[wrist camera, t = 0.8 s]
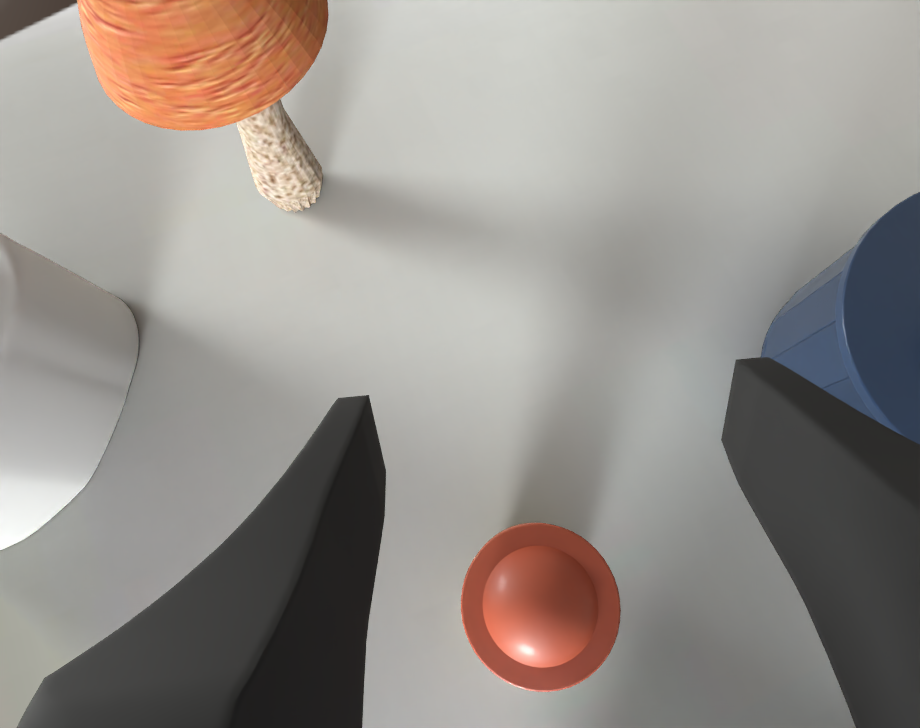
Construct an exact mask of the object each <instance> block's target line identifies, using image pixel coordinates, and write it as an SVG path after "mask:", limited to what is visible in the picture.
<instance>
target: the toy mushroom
mask: <svg viewBox="0 0 920 728" xmlns="http://www.w3.org/2000/svg"><path fill="white" fill-rule="evenodd" d="M620 612H621V610H620V598H619V593H618V588H617V585H616V582H615V579H614V576H613V574H612V572H611V570H610V568H609V566H608V565H607V563H606V561H605V560H604V558H603V557H602V556H601V555H600V553H599V552H598V551H597V550H596V549H595V548H594V547H593V546H592V545H591V544H590V543H589V542H588V541H586V540H585V539H584V538H582V537H581V536H579V535H577V534H576V533H574V532H572V531H570V530H567V529H565V528H563V527H559V526H555V525H551V524H546V523H524V524H519V525H515V526H512V527H510V528H507V529H505V530H503V531H501V532H500V533H498V534H497V535H495V536H494V537H493V538H492V539H490V540H489V541H488V542H487V543H486V544H485V545H484V546H483V547H482V549H481V550H480V551H479V552H478V554H477V555H476V556H475V558H474V559H473V561H472V563H471V565H470V567H469V569H468V571H467V574H466V576H465V579H464V583H463V588H462V595H461V614H462V621H463V625H464V629H465V633H466V635H467V638H468V640H469V643H470V644H471V646H472V648H473V650H474V652H475V653H476V655H477V656H478V657H479V659H480V660H481V661H482V663H483V664H484V665H485V666H486V667H487V668H488V669H489V670H490V671H491V672H493V673H494V674H495V675H496V676H497V677H499V678H501V679H502V680H504V681H505V682H507V683H509V684H512V685H514V686H516V687H519V688H522V689H526V690H531V691H537V692H550V691H558V690H562V689H565V688H569V687H571V686H574V685H576V684H578V683H580V682H582V681H583V680H585V679H586V678H588V677H589V676H590V675H591V674H593V673H594V672H595V671H596V670H597V669H598V668H599V667H600V666H601V665H602V663H603V662H604V661H605V659H606V658H607V656H608V655H609V653H610V651H611V649H612V647H613V645H614V643H615V640H616V637H617V634H618V629H619V624H620Z"/></svg>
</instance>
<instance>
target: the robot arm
mask: <svg viewBox="0 0 920 728" xmlns="http://www.w3.org/2000/svg"><path fill="white" fill-rule="evenodd" d="M721 440H722V443H723V445H724V448H725V451H726V453H727V456H728V459H729V462H730V464H731V467H732V469H733V472H734V474H735V476H736V479H737V481H738V484H739V486H740V488H741V489H742V491H743V493H744V495H745V497H746V499H747V500H748V502H749V504H750V506H751V507H752V509H753V511H754V513H755V515H756V516H757V518H758V520H759V522H760V524H761V525H762V527H763V529H764V531H765V532H766V534H767V536H768V538H769V539H770V541H771V543H772V545H773V546H774V548H775V550H776V552H777V553H778V555H779V557H780V559H781V560H782V562H783V564H784V566H785V567H786V569H787V571H788V573H789V574H790V576H791V578H792V580H793V581H794V583H795V585H796V587H797V589H798V591H799V593H800V595H801V597H802V599H803V601H804V603H805V605H806V607H807V609H808V612H809V614H810V616H811V619H812V621H813V623H814V626H815V628H816V630H817V632H818V635H819V637H820V639H821V642H822V644H823V646H824V648H825V651H826V653H827V655H828V658H829V660H830V663H831V665H832V668H833V670H834V673H835V675H836V678H837V680H838V683H839V685H840V687H841V690H842V692H843V695H844V697H845V700H846V702H847V705H848V707H849V710H850V713H851V715H852V718H853V721H854V723H855V726H856V728H920V444H918V443H916V442H914V441H912V440H910V439H908V438H906V437H904V436H903V435H901V434H899V433H897V432H895V431H893V430H891V429H890V428H888V427H886V426H884V425H882V424H881V423H879V422H877V421H875V420H874V419H872V418H870V417H868V416H867V415H865V414H863V413H861V412H860V411H858V410H856V409H855V408H853V407H851V406H850V405H848V404H846V403H845V402H843V401H841V400H840V399H838V398H836V397H835V396H833V395H831V394H830V393H828V392H826V391H825V390H823V389H822V388H820V387H818V386H817V385H815V384H813V383H812V382H810V381H809V380H807V379H805V378H804V377H802V376H800V375H799V374H797V373H795V372H794V371H792V370H790V369H789V368H787V367H785V366H784V365H782V364H780V363H778V362H777V361H775V360H773V359H771V358H769V357H761V358H750V359H740V360H736V362H735V368H734V373H733V379H732V384H731V390H730V395H729V401H728V406H727V412H726V417H725V423H724V428H723V434H722V439H721ZM385 486H386V469H385V465H384V460H383V456H382V452H381V447H380V443H379V438H378V434H377V430H376V425H375V421H374V417H373V412H372V408H371V403H370V399H369V395H366V396H355V397H345V398H338V399H337V400H336V401H335V403H334V404H333V405H332V407H331V408H330V410H329V411H328V413H327V414H326V416H325V417H324V419H323V420H322V422H321V423H320V425H319V426H318V428H317V429H316V431H315V432H314V433H313V435H312V436H311V438H310V439H309V441H308V442H307V444H306V445H305V446H304V448H303V449H302V450H301V452H300V453H299V454H298V456H297V457H296V459H295V460H294V461H293V463H292V464H291V465H290V467H289V468H288V469H287V471H286V472H285V473H284V475H283V476H282V477H281V478H280V480H279V481H278V482H277V483H276V484H275V486H274V487H273V488H272V489H271V490H270V492H269V493H268V494H267V495H266V496H265V498H264V499H263V500H262V501H261V503H260V504H259V505H258V506H257V507H256V508H255V509H254V511H253V512H252V513H251V514H250V515H249V516H248V517H247V518H246V519H245V521H244V522H243V523H242V524H241V525H240V526H239V527H238V528H237V529H236V530H235V531H234V532H233V533H232V534H231V535H230V536H229V537H228V538H227V539H226V540H225V541H224V542H223V543H222V544H221V545H220V546H219V547H218V548H217V549H216V550H215V551H214V552H213V553H211V554H210V555H209V556H208V557H207V558H206V559H205V560H204V561H202V562H201V563H200V564H199V565H198V566H197V567H196V568H194V569H193V570H192V571H191V572H190V573H189V574H188V575H187V576H185V577H184V578H183V579H182V580H181V581H180V582H179V583H177V584H176V585H175V586H174V587H173V588H171V589H170V590H169V591H168V592H166V593H165V594H164V595H163V596H161V597H160V598H159V599H158V600H156V601H155V602H154V603H153V604H151V605H150V606H149V607H147V608H146V609H145V610H143V611H142V612H141V613H139V614H138V615H137V616H135V617H134V618H133V619H131V620H130V621H129V622H127V623H126V624H125V625H123V626H122V627H121V628H119V629H118V630H116V631H115V632H113V633H112V634H111V635H109V636H108V637H106V638H105V639H103V640H102V641H100V642H99V643H97V644H96V645H94V646H93V647H91V648H90V649H88V650H87V651H85V652H84V653H82V654H81V655H79V656H78V657H76V658H75V659H73V660H72V661H70V662H69V663H67V664H66V665H64V666H63V667H61V668H60V669H58V670H57V671H55V672H54V673H52V674H50V675H49V676H47V677H46V678H44V680H43V681H42V683H41V685H40V686H39V688H38V690H37V691H36V693H35V695H34V697H33V698H32V700H31V702H30V703H29V705H28V707H27V709H26V711H25V712H24V714H23V716H22V718H21V720H20V722H19V724H18V726H17V728H362V718H363V694H364V674H365V656H366V639H367V630H368V621H369V614H370V607H371V601H372V595H373V588H374V582H375V575H376V569H377V563H378V556H379V550H380V543H381V537H382V530H383V523H384V516H385Z"/></svg>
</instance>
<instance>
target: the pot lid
mask: <svg viewBox="0 0 920 728" xmlns="http://www.w3.org/2000/svg"><path fill="white" fill-rule="evenodd" d="M835 314H836V331H837V338H838V344H839V348H840V352H841V355H842V358H843V362H844V365H845V368H846V370H847V372H848V374H849V377H850V379H851V381H852V383H853V385H854V387H855V389H856V391H857V392H858V394H859V395H860V397H861V399H862V400H863V402H864V404H865V405H866V407H867V408H868V409H869V410H870V412H871V413H872V414H873V416H874V417H875V418H876V419H877V421H878V422H879V423H881V424H882V425H884V426H886V427H888V428H890V429H891V430H893V431H895V432H897V433H899V434H901V435H903V436H904V437H906V438H908V439H910V440H912V441H914V442H916V443H918V444H920V192H919V193H917V194H914V195H912V196H910V197H909V198H907V199H905V200H904V201H902V202H900V203H899V204H897V205H896V206H894V207H893V208H892V209H891V210H889V211H888V212H887V213H886V214H884V215H883V216H882V217H881V218H880V219H878V220H877V221H876V222H875V223H874V224H873V225H872V226H871V227H870V228H869V229H868V230H867V231H866V232H865V233H864V235H863V236H862V237H861V238H860V240H859V241H858V243H857V244H856V246H855V247H854V249H853V250H852V252H851V254H850V256H849V258H848V260H847V262H846V264H845V266H844V269H843V272H842V275H841V279H840V282H839V286H838V291H837V298H836V306H835Z"/></svg>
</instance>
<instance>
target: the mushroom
mask: <svg viewBox="0 0 920 728" xmlns="http://www.w3.org/2000/svg"><path fill="white" fill-rule="evenodd" d="M77 2H78V8H79V14H80V21H81V27H82V30H83V34H84V37H85V40H86V44H87V47H88V50H89V53H90V56H91V59H92V62H93V65H94V68H95V71H96V74H97V77H98V80H99V82H100V84H101V86H102V87H103V89H104V91H105V92H106V94H107V95H108V96H109V97H110V99H111V100H112V101H113V102H114V103H115V104H116V105H117V106H118V107H119V108H121V109H122V110H123V111H125V112H126V113H127V114H129V115H130V116H132V117H134V118H136V119H138V120H140V121H142V122H144V123H147V124H151V125H154V126H157V127H161V128H167V129H174V130H204V129H210V128H217V127H222V126H225V125H229V124H232V123H235V122H236V124H237V126H238V129H239V132H240V135H241V139H242V142H243V145H244V149H245V152H246V155H247V159H248V162H249V165H250V169H251V172H252V175H253V179H254V182H255V185H256V188H257V189H258V190H259V192H260V194H261V195H263V196H264V197H266V198H267V199H268V200H269V201H271V202H272V203H273V204H275V205H276V206H278V207H279V208H280V209H285V210H286V211H287V212H288V211H291V210H293V211H294V212H297V211H298V210H301V211H303V210H304V209H305V207H306V208H310V206H311V204H312V203H316V198H318V197H319V195H320V190H321V184H322V177H323V174H322V167H321V165H320V164H319V162H318V161H317V159H316V158H315V156H314V155H313V153H312V152H311V150H310V148H309V147H308V145H307V144H306V142H305V141H304V139H303V138H302V136H301V134H300V133H299V131H298V130H297V128H296V127H295V125H294V124H293V122H292V121H291V119H290V117H289V116H288V114H287V113H286V111H285V110H284V108H283V105H282V103H281V100H280V98H282V97H283V96H284V95H285V94H287V93H288V92H289V91H290V90H291V89H292V88H293V87H294V86H295V85H296V84H297V83H298V82H299V81H300V80H301V79H302V78H303V77H304V75H305V74H306V72H307V71H308V70H309V68H310V67H311V65H312V64H313V63H314V61H315V59H316V57H317V55H318V53H319V51H320V49H321V47H322V44H323V40H324V37H325V34H326V31H327V22H328V3H327V0H77Z"/></svg>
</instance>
